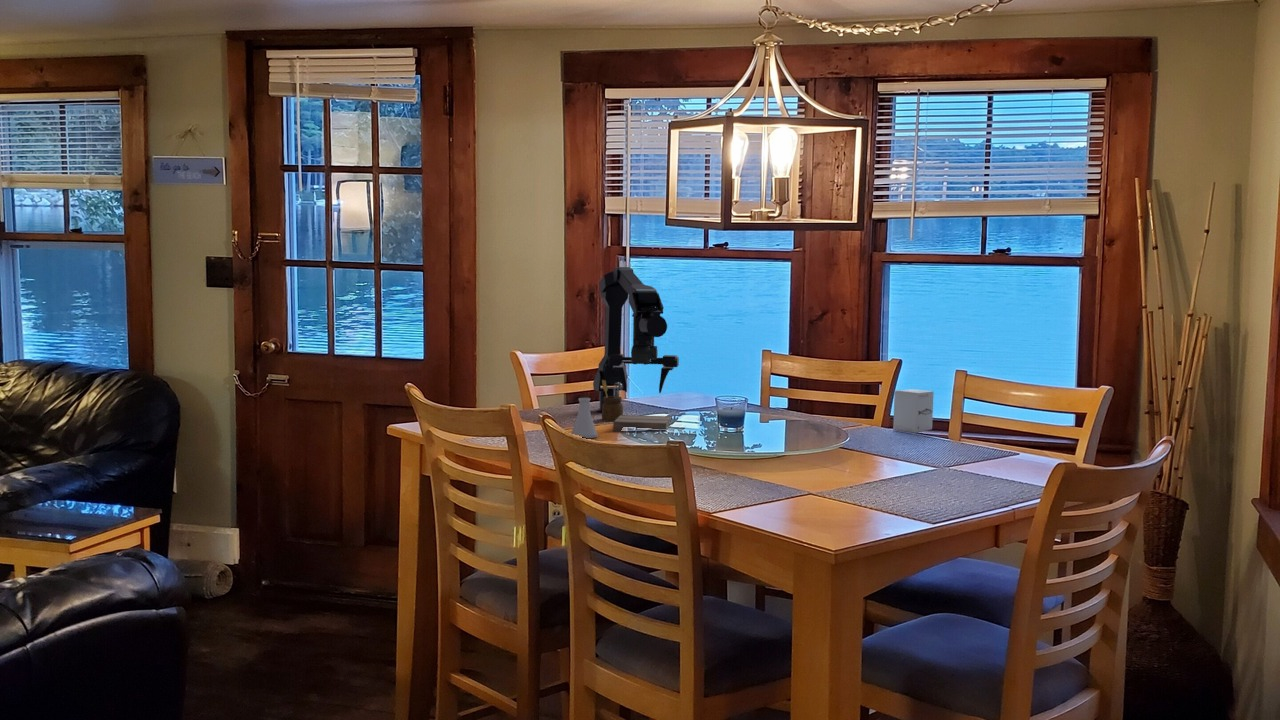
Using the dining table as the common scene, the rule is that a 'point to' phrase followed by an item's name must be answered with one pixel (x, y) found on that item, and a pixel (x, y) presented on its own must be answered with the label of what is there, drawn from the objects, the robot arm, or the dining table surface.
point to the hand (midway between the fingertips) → (643, 392)
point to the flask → (584, 420)
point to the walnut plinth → (641, 422)
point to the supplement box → (913, 410)
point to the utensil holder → (611, 405)
